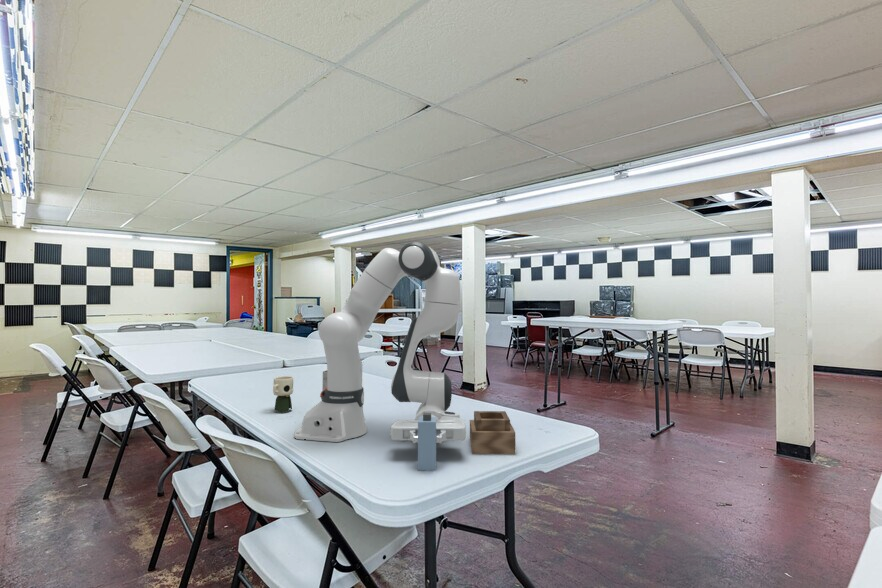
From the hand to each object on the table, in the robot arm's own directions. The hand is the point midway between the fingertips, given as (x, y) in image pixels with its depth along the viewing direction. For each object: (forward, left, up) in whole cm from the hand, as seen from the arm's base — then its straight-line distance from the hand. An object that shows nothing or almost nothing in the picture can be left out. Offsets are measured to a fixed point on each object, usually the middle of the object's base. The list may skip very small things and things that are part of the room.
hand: (427, 440), depth 104 cm
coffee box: (-38, +53, -7) cm, 66 cm away
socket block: (+18, +16, -7) cm, 25 cm away
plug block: (0, +1, -7) cm, 7 cm away
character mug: (-58, +53, -7) cm, 79 cm away
